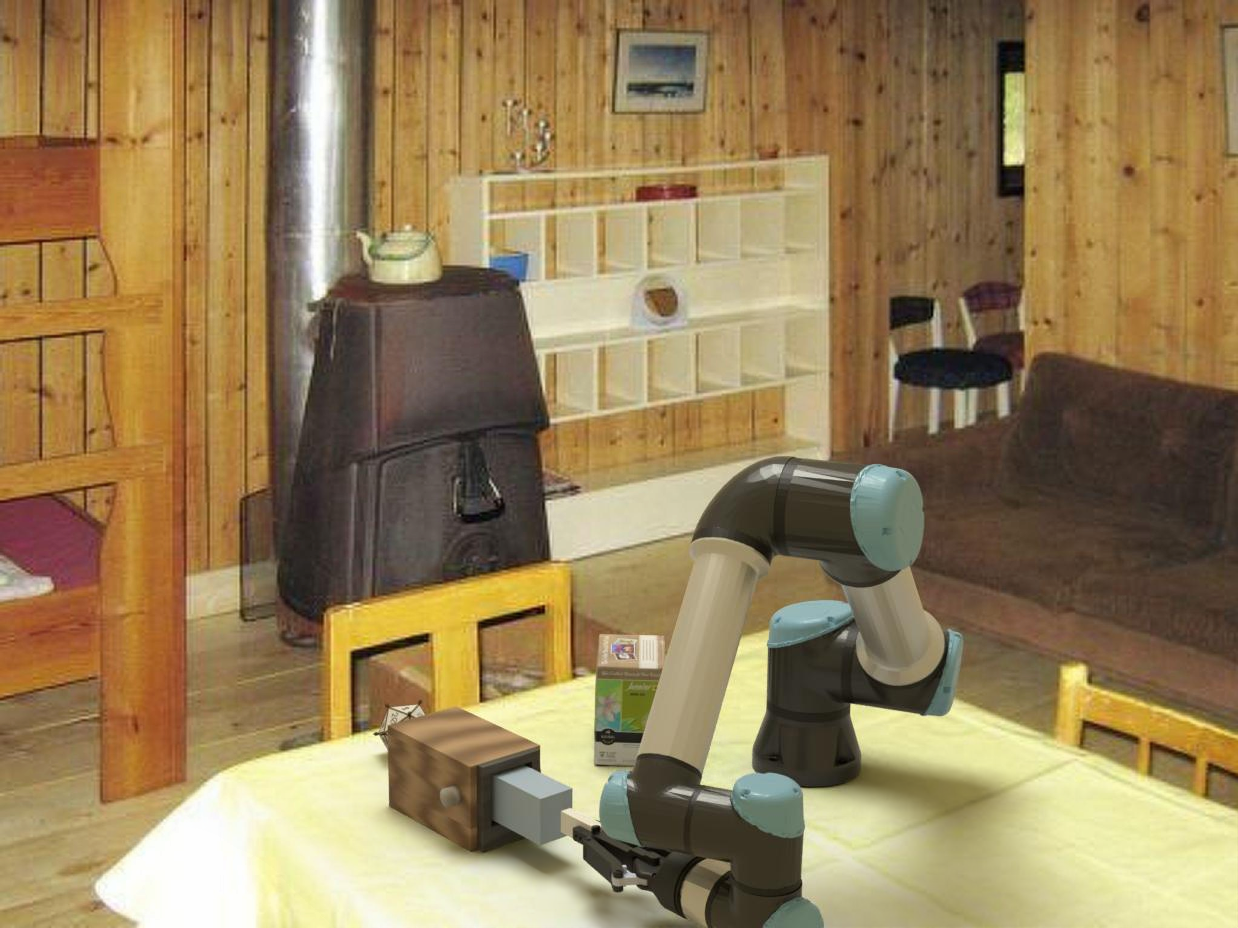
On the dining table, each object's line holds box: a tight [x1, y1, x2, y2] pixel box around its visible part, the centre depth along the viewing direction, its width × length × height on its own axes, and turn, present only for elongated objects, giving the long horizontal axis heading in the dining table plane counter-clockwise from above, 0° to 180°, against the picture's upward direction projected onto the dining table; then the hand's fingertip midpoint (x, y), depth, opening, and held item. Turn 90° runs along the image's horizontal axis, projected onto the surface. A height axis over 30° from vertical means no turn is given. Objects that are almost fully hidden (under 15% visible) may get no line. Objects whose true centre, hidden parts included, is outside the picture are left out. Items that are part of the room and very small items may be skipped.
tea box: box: [593, 633, 667, 767], centre depth 252 cm, size 15×10×15 cm
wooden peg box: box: [387, 705, 542, 853], centre depth 228 cm, size 19×14×11 cm
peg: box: [491, 764, 573, 846], centre depth 220 cm, size 15×5×6 cm, turn 42°
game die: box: [372, 698, 426, 751], centre depth 248 cm, size 9×8×10 cm
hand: (565, 819), depth 213 cm, fingers closed
